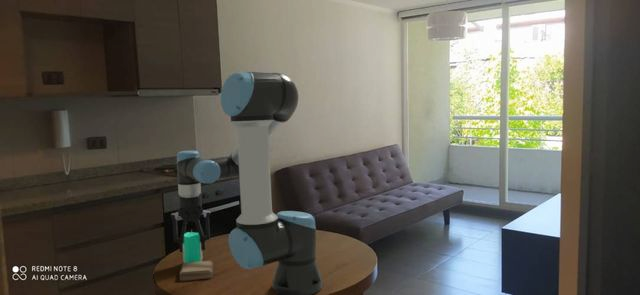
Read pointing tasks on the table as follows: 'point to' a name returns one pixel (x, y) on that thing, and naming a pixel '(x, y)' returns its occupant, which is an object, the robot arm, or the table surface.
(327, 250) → the table surface
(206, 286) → the table surface
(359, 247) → the table surface
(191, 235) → the candle
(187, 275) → the stand
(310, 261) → the robot arm
